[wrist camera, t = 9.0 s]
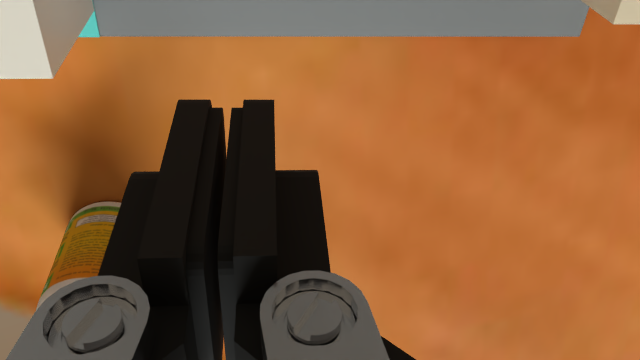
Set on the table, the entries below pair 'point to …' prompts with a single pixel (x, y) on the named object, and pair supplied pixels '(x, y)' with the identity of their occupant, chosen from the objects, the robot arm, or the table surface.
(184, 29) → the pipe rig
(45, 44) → the white block
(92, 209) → the supplement bottle
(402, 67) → the table surface
